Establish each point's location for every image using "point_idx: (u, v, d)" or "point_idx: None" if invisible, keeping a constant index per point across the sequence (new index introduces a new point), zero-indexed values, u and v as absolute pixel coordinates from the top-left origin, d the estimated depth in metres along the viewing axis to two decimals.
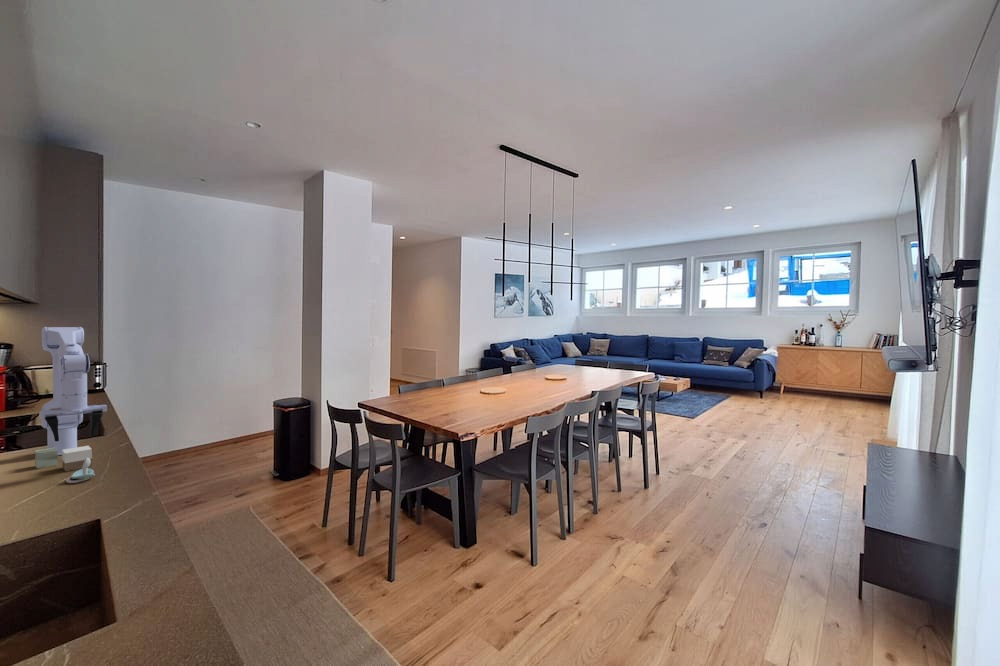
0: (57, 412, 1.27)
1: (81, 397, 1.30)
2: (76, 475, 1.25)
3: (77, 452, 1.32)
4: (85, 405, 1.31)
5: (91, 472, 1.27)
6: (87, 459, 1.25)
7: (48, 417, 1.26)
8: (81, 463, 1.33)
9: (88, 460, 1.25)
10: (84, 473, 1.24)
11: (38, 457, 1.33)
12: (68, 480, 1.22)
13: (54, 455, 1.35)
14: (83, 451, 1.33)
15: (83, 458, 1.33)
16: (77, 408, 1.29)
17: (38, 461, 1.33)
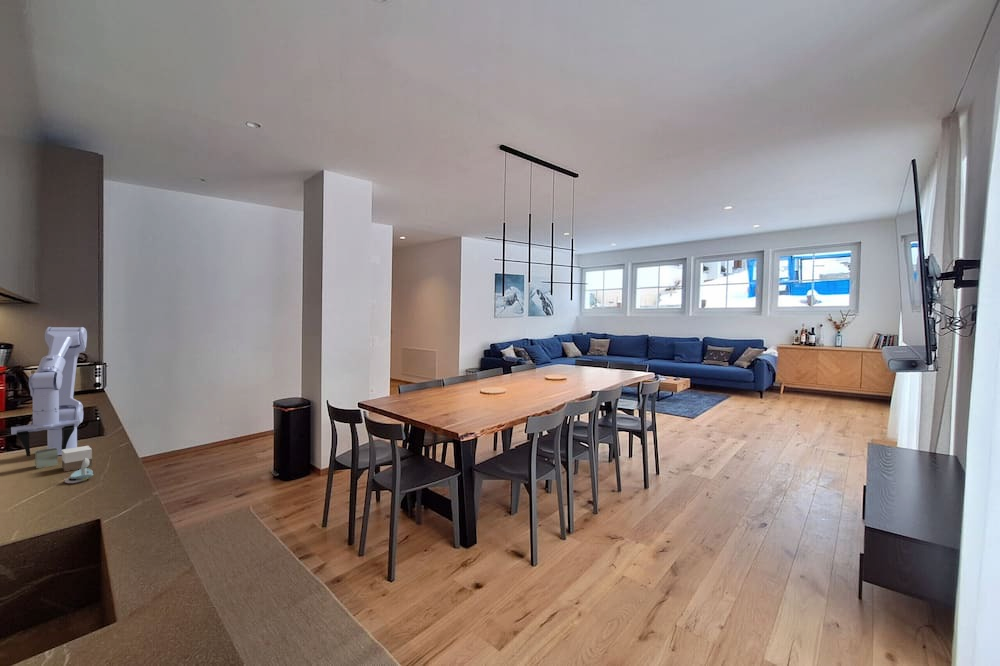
0: (28, 428, 1.31)
1: (52, 413, 1.34)
2: (75, 475, 1.24)
3: (77, 452, 1.32)
4: (56, 420, 1.36)
5: (90, 472, 1.27)
6: (86, 459, 1.24)
7: (20, 433, 1.30)
8: (81, 463, 1.33)
9: (87, 460, 1.25)
10: (83, 473, 1.24)
11: (38, 457, 1.33)
12: (67, 480, 1.22)
13: (54, 455, 1.35)
14: (83, 451, 1.33)
15: (83, 458, 1.33)
16: (48, 424, 1.34)
17: (38, 461, 1.33)
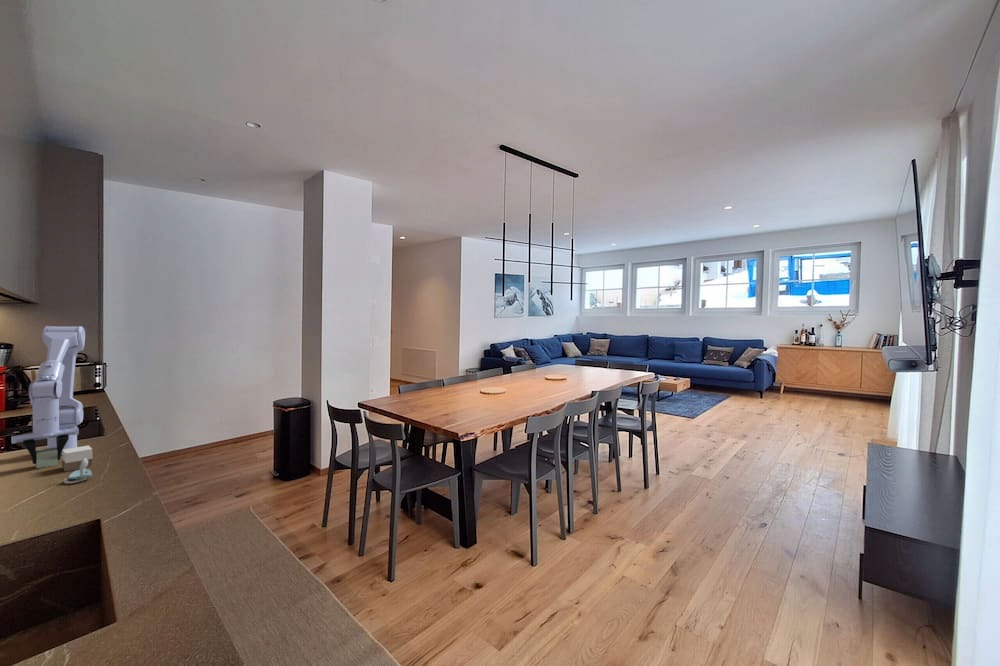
0: (29, 437, 1.31)
1: (52, 422, 1.35)
2: (73, 475, 1.24)
3: (78, 452, 1.32)
4: (57, 429, 1.36)
5: (88, 472, 1.27)
6: (84, 459, 1.24)
7: None
8: None
9: (85, 460, 1.24)
10: (81, 473, 1.24)
11: (38, 457, 1.32)
12: (65, 480, 1.21)
13: (54, 454, 1.35)
14: (84, 451, 1.33)
15: None
16: (48, 432, 1.34)
17: (38, 461, 1.33)
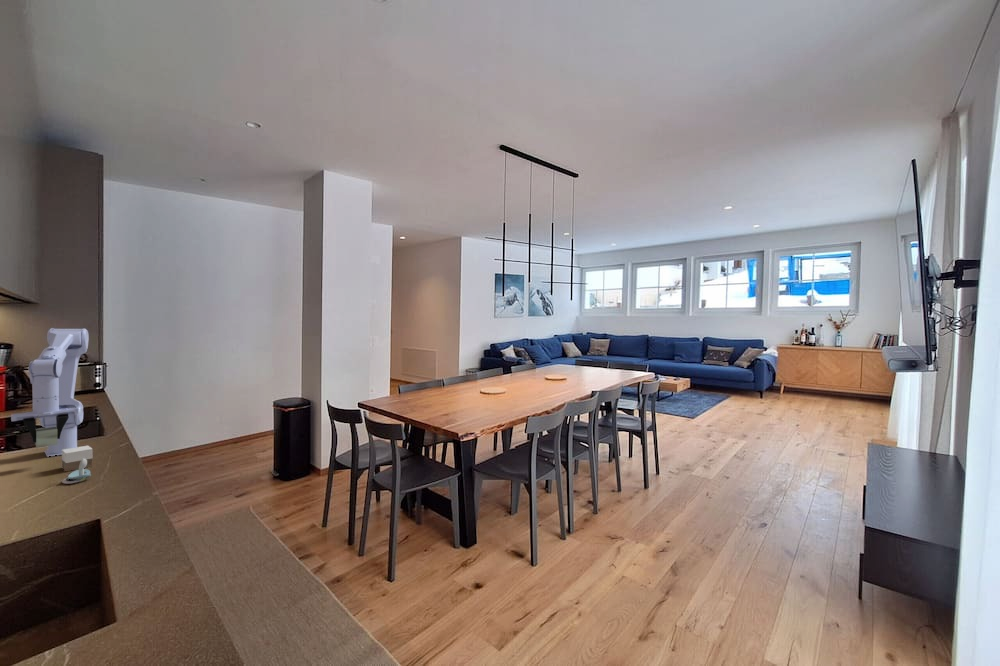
0: (28, 415, 1.31)
1: (52, 400, 1.34)
2: (72, 476, 1.24)
3: (78, 452, 1.32)
4: (56, 408, 1.36)
5: (87, 473, 1.26)
6: (83, 460, 1.24)
7: None
8: None
9: (84, 461, 1.24)
10: (80, 474, 1.24)
11: (38, 435, 1.32)
12: (64, 481, 1.21)
13: (54, 433, 1.35)
14: (84, 451, 1.33)
15: (84, 458, 1.33)
16: (48, 411, 1.34)
17: (38, 439, 1.32)
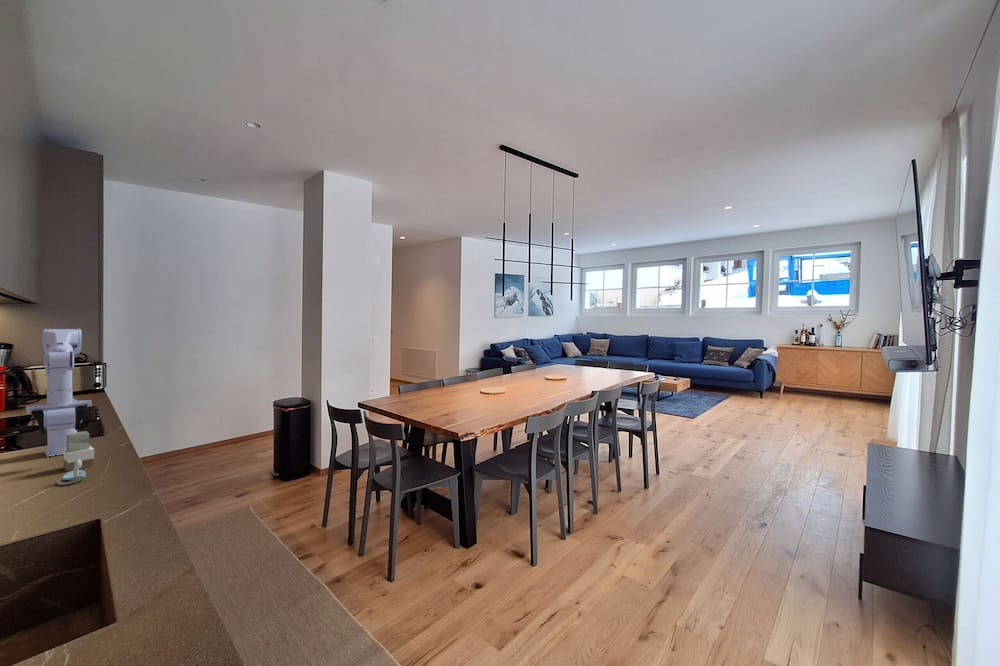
0: (43, 407, 1.33)
1: (66, 392, 1.36)
2: (67, 477, 1.23)
3: (80, 452, 1.33)
4: (70, 400, 1.37)
5: (82, 474, 1.26)
6: (78, 460, 1.23)
7: (34, 411, 1.32)
8: (82, 463, 1.33)
9: (79, 461, 1.23)
10: (75, 475, 1.23)
11: (71, 440, 1.32)
12: (59, 482, 1.21)
13: (86, 438, 1.34)
14: (86, 451, 1.34)
15: (85, 458, 1.34)
16: (62, 403, 1.35)
17: (71, 444, 1.32)
